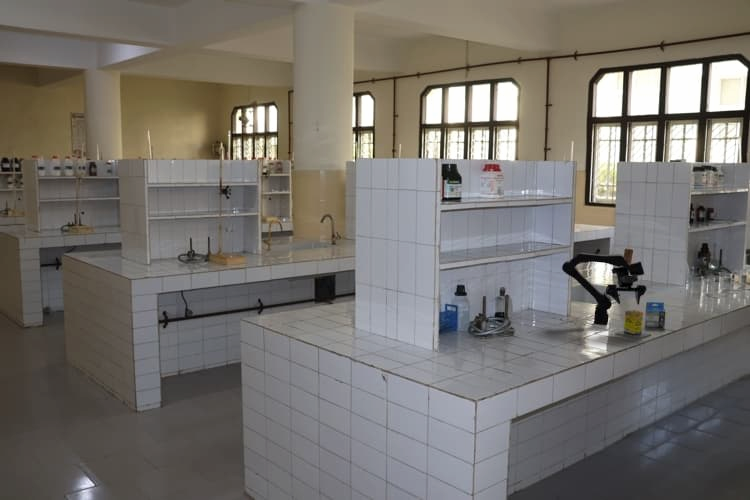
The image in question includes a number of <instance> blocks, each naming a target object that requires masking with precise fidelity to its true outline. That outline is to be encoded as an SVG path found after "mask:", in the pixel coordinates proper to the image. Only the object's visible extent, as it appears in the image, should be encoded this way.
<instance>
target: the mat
mask: <svg viewBox="0 0 750 500" xmlns="http://www.w3.org/2000/svg"><path fill="white" fill-rule="evenodd" d="M614 334H615V336H616V335H617V336H620V337H627V338H631V339H635V340H641V339H643V338H648V337H650V336H652V335H651V333H648V332H647V333H646V332H641V334H638V335H630V334H627V333H624V330H621V331H617V332H615V333H614Z"/></svg>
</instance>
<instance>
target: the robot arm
mask: <svg viewBox="0 0 750 500" xmlns="http://www.w3.org/2000/svg"><path fill="white" fill-rule="evenodd" d="M583 261H584V262H590V263H591V262H594V263H600V264H601V263H603V264H608V265H611V266H614V267H613V268H611V273H612V275H615V274H616V279H617V282H616V283H617V284H615V283H612V284H610V283H608V284H607V287H606V288H605V291H604V292H601V291H599V289H597V288H596V287H595V285H593V284H592V283H591V282H590V281H589V280H588V279H587V278H586V277H585V276H584V275H583V274H581V272H580V271H579V269H578V268H577V266H578V265H579V264H580V263H581V262H583ZM561 268H562V269H561V270H562V271H563V273H564V274H566V275H568V276H570V277H571V278H573V279H574V280H576V282H578V284H580V285H581V287H583V288H584V289H585V290H586V291H587V292H588V293H589V294H590V295H591V297H592V298H594V299H595V301H596V303H597V304H596V305H595V307H594V309H595V310H594V314H593V316H594V319H593V324H597V325H608V324H609V317H610V315H609V314H608V313H609V312H608V310H610V309H611V308H612V306H613V305H612V303H613V302H612V301H613V300H612V299H614V301H615V302H616V303H617V304H618V305H620V304H621V300H620V297H619V292H629V293H631V292H632V293H633V292H634V294H635V295H634V296H635V300H636V304H637V306H639V304H640V301H641V297H643V296H644V295H645V293H646V291H647V289H648V288H647V286H646V285H645V284H637V285H636V287H633V286H634V283H637V282H638V281H639V276H640V277H641V276H645V271H644V267H643V265H642V261H637V262H633V263H630V262H629V261H628V260H626V258H625V256H624V255H623V254H620V253H616V254H615V253H614V254H613V253H612V254H597V253H586V252H578V253H577V255H575V256H574V257H572V258H571V259H570V260H567V261H566V260H565V262H564V263H563V264H562V266H561ZM617 285H618V286H617ZM611 298H612V299H611Z"/></svg>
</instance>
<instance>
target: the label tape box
mask: <svg viewBox="0 0 750 500" xmlns="http://www.w3.org/2000/svg"><path fill="white" fill-rule="evenodd" d="M664 306H665V302H657V301H654V302H653V301H646V303H645V318H644V326H645V327H646V328H665V326H666V309H665V307H664Z"/></svg>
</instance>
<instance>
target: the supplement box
mask: <svg viewBox="0 0 750 500" xmlns="http://www.w3.org/2000/svg"><path fill="white" fill-rule="evenodd" d="M643 315H644V312H643V311H639V310H635V309H631V310H625V314H624V328H623V331H624V333H627V334H630V335H638V334H641V332H642V330H643V318H644V317H643Z"/></svg>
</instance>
